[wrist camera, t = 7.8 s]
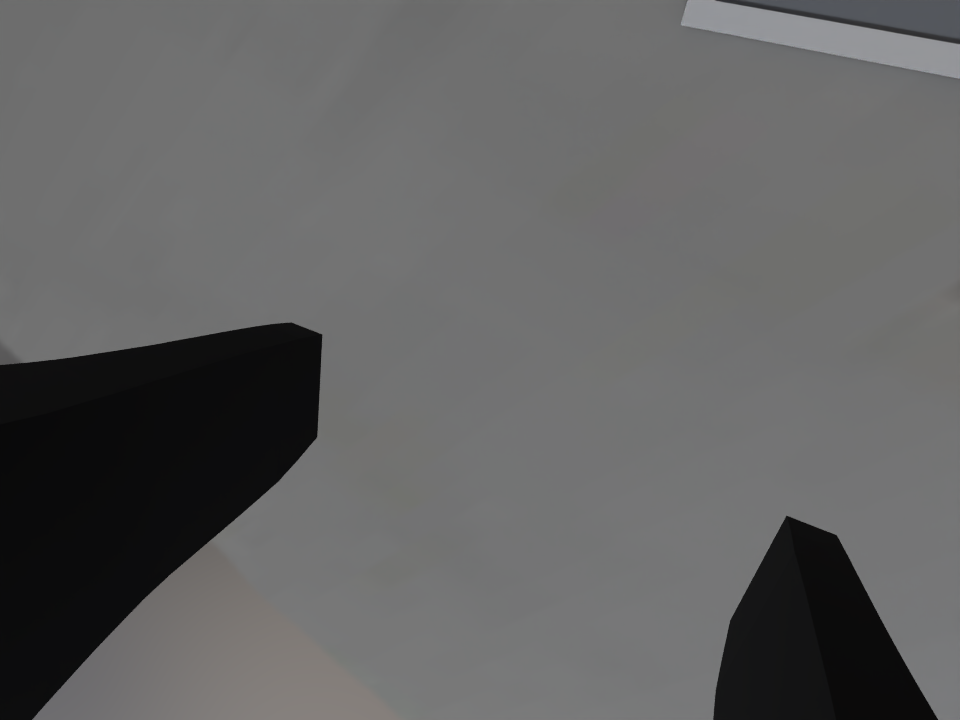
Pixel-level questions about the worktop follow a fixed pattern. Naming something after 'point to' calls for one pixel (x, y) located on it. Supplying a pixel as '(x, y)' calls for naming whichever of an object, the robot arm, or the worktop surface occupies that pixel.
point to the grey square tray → (845, 28)
